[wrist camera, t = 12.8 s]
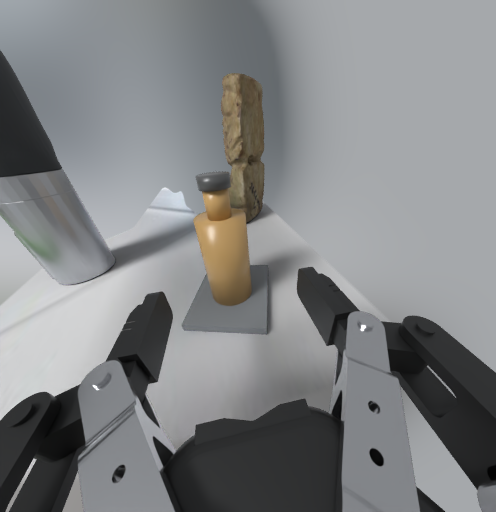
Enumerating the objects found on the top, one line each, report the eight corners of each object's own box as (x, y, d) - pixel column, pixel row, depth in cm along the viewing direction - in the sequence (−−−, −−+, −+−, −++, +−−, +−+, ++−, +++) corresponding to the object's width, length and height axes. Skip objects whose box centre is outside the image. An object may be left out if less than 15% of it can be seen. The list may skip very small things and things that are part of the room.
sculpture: (242, 209, 59) (230, 88, 43) (267, 211, 55) (265, 79, 39) (220, 222, 50) (196, 77, 34) (249, 227, 46) (236, 64, 30)
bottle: (207, 305, 23) (171, 181, 15) (218, 277, 28) (195, 171, 20) (249, 306, 22) (236, 178, 14) (253, 278, 27) (245, 168, 19)
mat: (183, 330, 21) (181, 325, 21) (211, 270, 31) (210, 265, 31) (266, 334, 20) (266, 328, 20) (268, 270, 30) (267, 265, 30)
